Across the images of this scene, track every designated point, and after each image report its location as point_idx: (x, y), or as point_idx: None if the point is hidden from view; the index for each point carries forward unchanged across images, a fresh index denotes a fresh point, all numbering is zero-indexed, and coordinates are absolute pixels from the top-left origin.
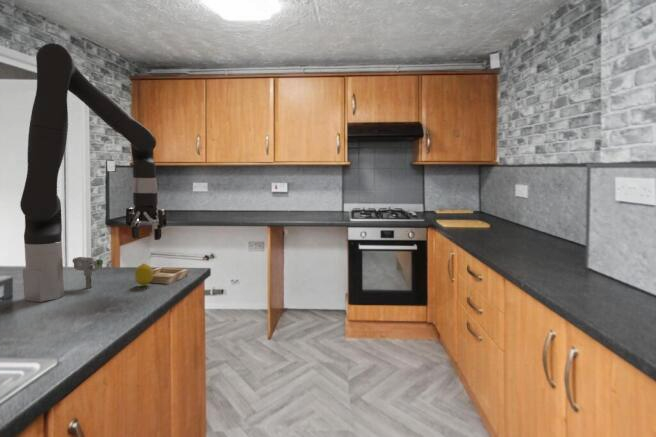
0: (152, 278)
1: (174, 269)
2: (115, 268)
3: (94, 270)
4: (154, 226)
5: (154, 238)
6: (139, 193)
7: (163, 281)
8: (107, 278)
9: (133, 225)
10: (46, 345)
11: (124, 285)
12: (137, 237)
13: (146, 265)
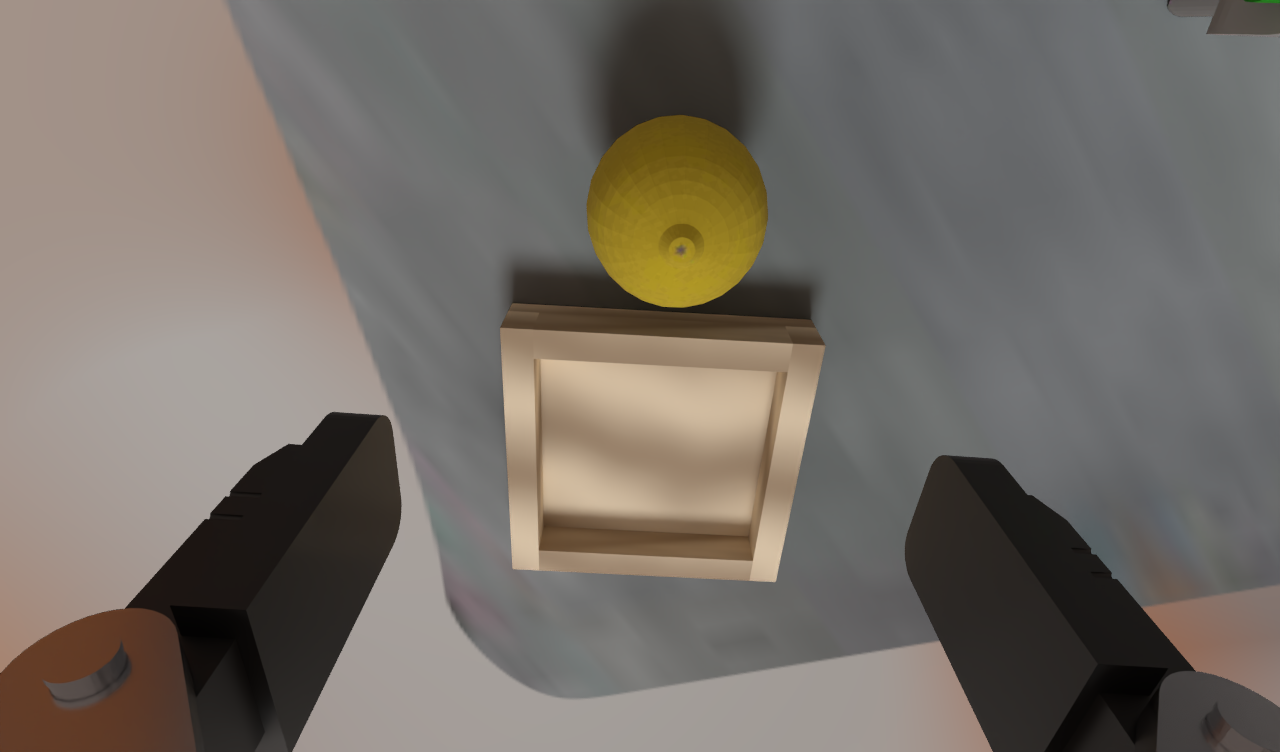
0: (677, 327)
1: (622, 553)
2: (1185, 586)
3: None
4: (139, 696)
5: (370, 421)
6: None
7: (563, 312)
8: (1135, 331)
9: (1186, 748)
10: None
11: (870, 164)
12: (917, 526)
13: (639, 237)
